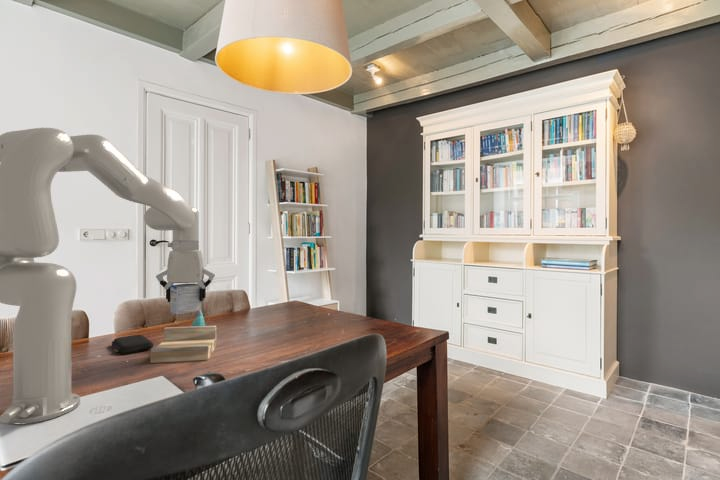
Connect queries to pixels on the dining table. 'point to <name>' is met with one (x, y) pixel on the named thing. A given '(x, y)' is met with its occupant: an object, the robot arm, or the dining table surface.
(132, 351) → the carrying case or bag
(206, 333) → the stepped wooden block
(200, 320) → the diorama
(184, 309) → the medicine box
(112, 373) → the dining table surface
